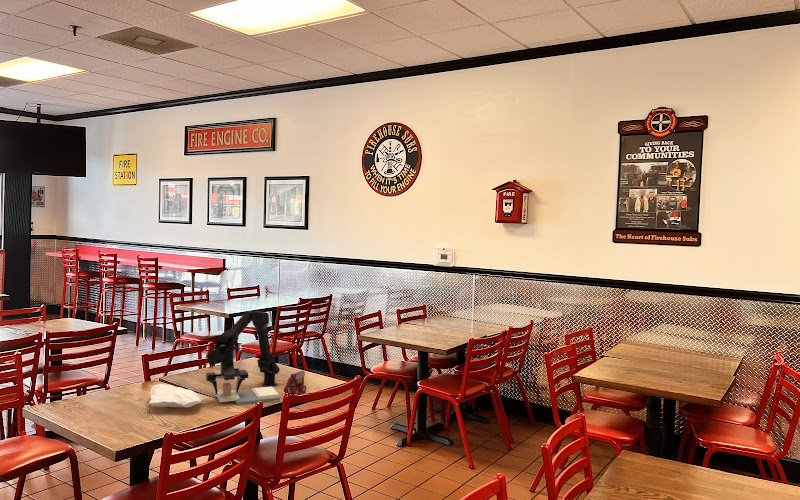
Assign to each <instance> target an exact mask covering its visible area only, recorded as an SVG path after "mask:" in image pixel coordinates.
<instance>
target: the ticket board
mask: <svg viewBox="0 0 800 500" xmlns="http://www.w3.org/2000/svg"><path fill="white" fill-rule="evenodd" d="M237 394H238V396H239V397H240V400H238V401H233V402H234V403H235V405H236V406H243V405H252V404H258V403H257V402H259V401H262V402H263V403H262V404H264V402H265V403H270V402H269V401H274V400H280V401H281V398H280V394H279V392H278V391H276V389H275V388H274V387H273V386H264V387H262V386H261V387H253V388H251V389H245V390H238V393H237Z"/></svg>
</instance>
